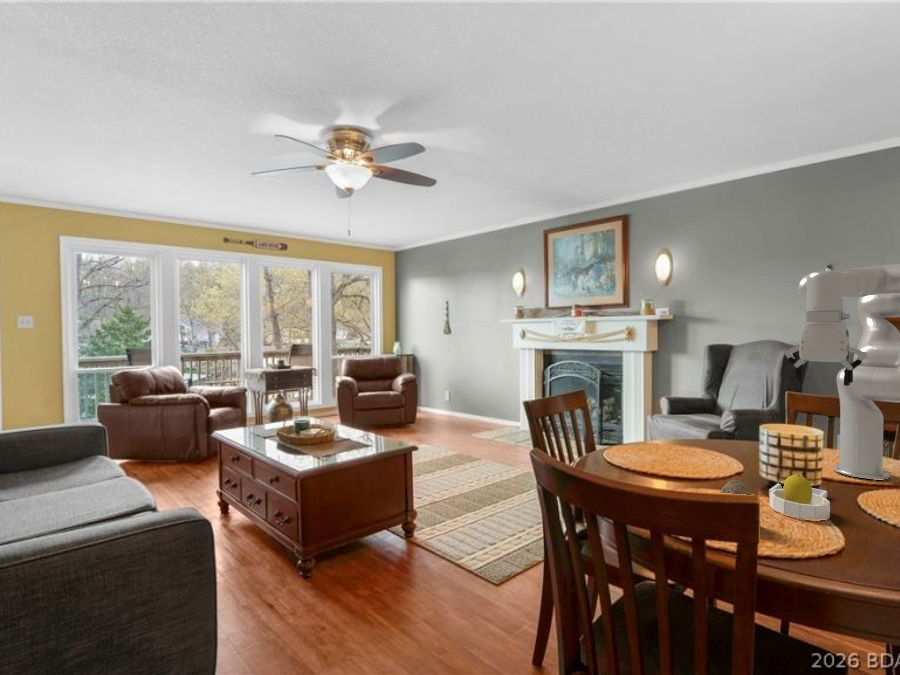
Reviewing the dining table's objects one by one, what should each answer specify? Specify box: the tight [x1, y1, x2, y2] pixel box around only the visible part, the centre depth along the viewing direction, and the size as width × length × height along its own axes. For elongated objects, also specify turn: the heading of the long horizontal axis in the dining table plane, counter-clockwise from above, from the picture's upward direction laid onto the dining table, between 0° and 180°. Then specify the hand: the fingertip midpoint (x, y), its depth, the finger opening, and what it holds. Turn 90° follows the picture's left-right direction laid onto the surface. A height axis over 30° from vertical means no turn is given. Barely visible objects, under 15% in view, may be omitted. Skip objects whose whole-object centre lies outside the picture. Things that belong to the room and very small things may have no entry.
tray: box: [768, 482, 828, 499], centre depth 121 cm, size 10×10×2 cm
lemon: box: [782, 473, 813, 504], centre depth 112 cm, size 6×6×8 cm
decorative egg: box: [719, 479, 753, 496], centre depth 104 cm, size 7×7×10 cm
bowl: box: [769, 488, 831, 521], centre depth 111 cm, size 11×11×4 cm
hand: (823, 383), depth 125 cm, fingers open, 9 cm apart
